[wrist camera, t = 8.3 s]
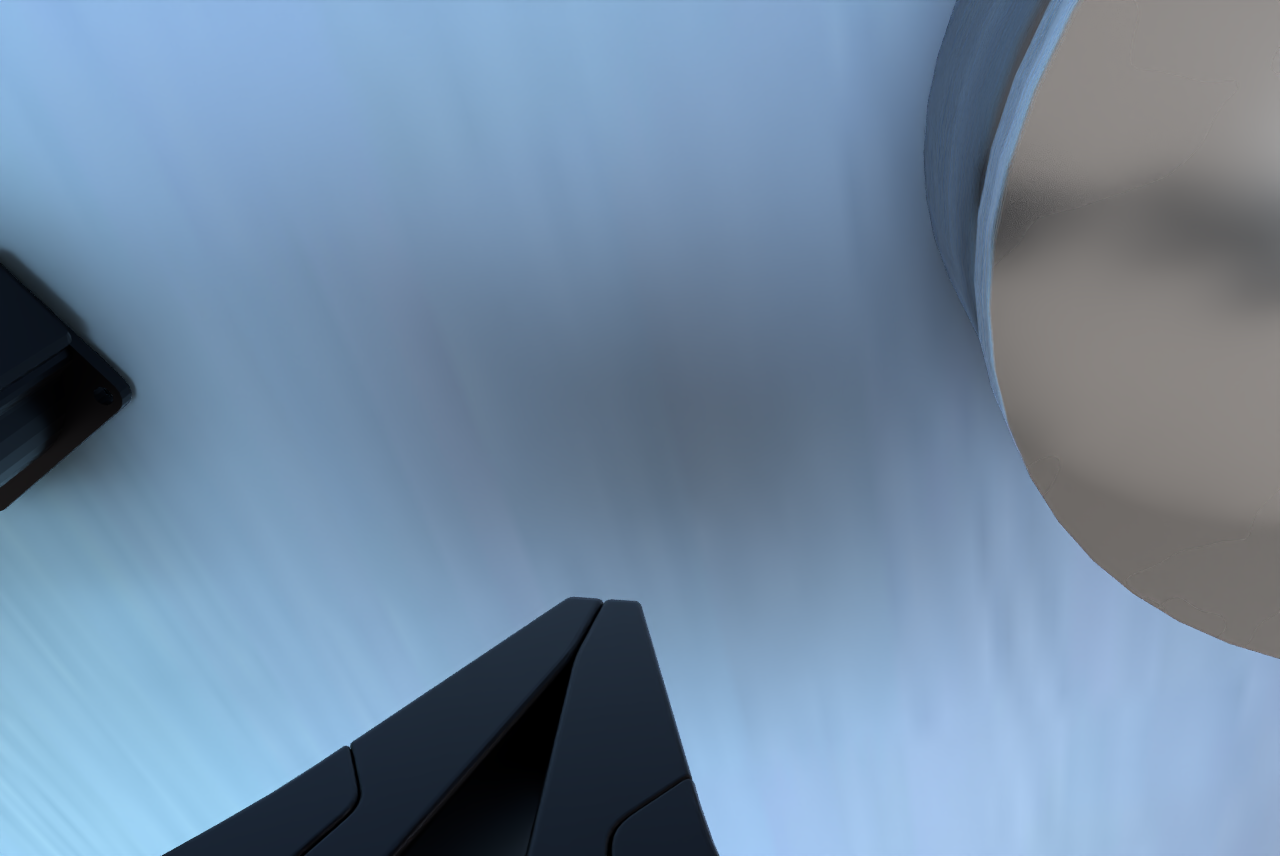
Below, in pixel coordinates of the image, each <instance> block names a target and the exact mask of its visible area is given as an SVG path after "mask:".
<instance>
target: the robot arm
mask: <svg viewBox="0 0 1280 856" xmlns="http://www.w3.org/2000/svg"><path fill="white" fill-rule="evenodd" d="M103 388H105V389H107V390H108V391H109V392H110V393H111V394H112V396H113V397H111V396H109V395H108V394H107V393H106V392H105V391H104V389H103ZM131 395H132V392H131V389H130V386H129V385H128V383H127V382H126V381H125V380H124V379H123V378H122V377H121V376H120V375H119V374H118V373H117V372H116V371H115V370H114V369H113V368H112V367H111V366H110V365H109V364H107V363H106V362H105V361H104V360H103V359H102V358H101V357H100V356H99V355H98V354H97V353H96V352H95V351H94V350H92V349H91V348H90V347H89V346H88V345H87V344H86V343H85V342H84V341H83V340H82V339H81V338H80V337H79V336H78V335H76V334H75V333H74V332H73V331H72V330H71V329H70V328H69V327H68V326H67V325H66V324H65V323H64V322H63V321H62V320H60V319H59V318H58V317H57V316H56V315H55V314H54V313H53V312H52V311H51V310H50V309H49V308H48V307H47V306H45V305H44V304H43V303H42V302H41V301H40V300H39V299H38V298H37V297H36V296H35V295H34V294H33V293H32V292H31V291H29V290H28V289H27V288H26V287H25V286H24V285H23V284H22V283H21V282H20V281H19V280H18V279H17V278H16V277H14V276H13V275H12V274H11V273H10V272H9V271H8V270H7V269H6V268H5V267H4V266H3V265H2V264H1V263H0V511H2V510H4V509H6V508H7V507H8V506H9V505H11V504H12V503H13V502H14V501H15V500H17V499H18V498H19V497H20V496H21V495H22V494H24V493H25V492H26V491H27V490H28V489H29V488H30V487H32V486H33V485H34V484H35V483H36V482H37V481H39V480H40V479H41V478H42V477H43V476H44V475H46V474H47V473H48V472H49V471H50V470H51V469H53V468H54V467H55V466H56V465H57V464H58V463H59V462H61V461H62V460H63V459H64V458H65V457H66V456H68V455H69V454H70V453H71V452H72V451H73V450H75V449H76V448H77V447H78V446H79V445H80V444H82V443H83V442H84V441H85V440H86V439H87V438H88V437H90V436H91V435H92V434H93V433H94V432H95V431H97V430H98V429H99V428H100V427H101V426H102V425H104V424H105V423H106V422H107V421H108V420H109V419H111V418H112V417H113V416H114V415H115V414H116V413H118V412H119V411H120V410H121V409H122V408H123V407H124V406H126V405H127V404H128V403H129V401H130V400H131ZM350 748H351V749H350ZM162 856H719V854H718V851H717V849H716V847H715V845H714V842H713V839H712V836H711V834H710V831H709V828H708V825H707V822H706V819H705V816H704V813H703V811H702V808H701V805H700V801H699V798H698V794H697V791H696V787H695V784H694V782H693V781H692V776H691V773H690V770H689V766H688V763H687V760H686V756H685V753H684V749H683V746H682V743H681V739H680V736H679V732H678V729H677V726H676V722H675V719H674V715H673V712H672V709H671V705H670V702H669V698H668V695H667V692H666V688H665V685H664V681H663V678H662V675H661V671H660V668H659V664H658V661H657V658H656V654H655V651H654V647H653V644H652V641H651V637H650V634H649V630H648V627H647V623H646V620H645V617H644V613H643V610H642V607H641V605H640V603H639V602H637V601H626V600H612V599H611V600H607V601H605V603H603V601H602V600H600V599H597V598H582V597H570V598H567V599H565V600H564V601H562V602H561V603H559V604H558V605H556V606H555V607H553V608H552V609H550V610H549V611H547V612H546V613H544V614H543V615H541V616H540V617H538V618H537V619H535V620H534V621H532V622H531V623H529V624H528V625H526V626H525V627H523V628H522V629H520V630H519V631H517V632H516V633H514V634H513V635H511V636H510V637H508V638H507V639H505V640H504V641H502V642H501V643H499V644H498V645H496V646H495V647H493V648H492V649H490V650H489V651H487V652H486V653H485V654H483V655H482V656H480V657H479V658H477V659H476V660H474V661H473V662H471V663H470V664H468V665H467V666H465V667H464V668H462V669H461V670H459V671H458V672H456V673H455V674H453V675H452V676H450V677H449V678H447V679H446V680H444V681H443V682H441V683H440V684H438V685H437V686H435V687H434V688H432V689H431V690H429V691H428V692H426V693H425V694H423V695H422V696H420V697H419V698H417V699H416V700H414V701H413V702H411V703H410V704H408V705H407V706H405V707H404V708H402V709H401V710H399V711H398V712H396V713H395V714H393V715H392V716H390V717H389V718H387V719H386V720H384V721H383V722H381V723H380V724H378V725H377V726H375V727H374V728H372V729H371V730H369V731H368V732H366V733H365V734H363V735H362V736H360V737H359V738H357V739H356V740H354V741H353V742H352V743H351V745H350V747H349V746H343V747H342V748H340V749H339V750H337V751H336V752H334V753H333V754H331V755H330V756H328V757H327V758H325V759H324V760H322V761H321V762H319V763H318V764H316V765H315V766H313V767H312V768H310V769H308V770H307V771H305V772H304V773H302V774H301V775H299V776H297V777H296V778H294V779H293V780H291V781H290V782H288V783H286V784H285V785H283V786H282V787H280V788H279V789H277V790H275V791H274V792H272V793H271V794H269V795H267V796H266V797H264V798H262V799H260V800H259V801H257V802H255V803H253V804H252V805H250V806H248V807H247V808H245V809H243V810H241V811H240V812H238V813H236V814H235V815H233V816H231V817H229V818H228V819H226V820H224V821H223V822H221V823H219V824H217V825H216V826H214V827H212V828H210V829H208V830H207V831H205V832H203V833H201V834H199V835H198V836H196V837H194V838H192V839H191V840H189V841H187V842H185V843H183V844H182V845H180V846H178V847H176V848H174V849H173V850H171V851H169V852H167V853H165V854H164V855H162Z"/></svg>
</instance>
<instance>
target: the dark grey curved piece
mask: <svg viewBox="0 0 1280 856" xmlns="http://www.w3.org/2000/svg"><path fill="white" fill-rule="evenodd" d="M1050 1H1051V0H957V2H956V4H955V6H954V9H953V12H952V15H951V18H950V21H949V24H948V27H947V30H946V33H945V36H944V39H943V42H942V45H941V48H940V51H939V54H938V57H937V62H936V67H935V72H934V77H933V81H932V86H931V91H930V96H929V101H928V106H927V118H926V131H925V144H924V165H925V183H926V198H927V203H928V208H929V213H930V218H931V223H932V228H933V233H934V238H935V241H936V244H937V246H938V249H939V252H940V255H941V257H942V260H943V263H944V266H945V269H946V271H947V274H948V277H949V279H950V281H951V283H952V285H953V287H954V289H955V291H956V293H957V295H958V297H959V299H960V301H961V303H962V305H963V307H964V309H965V311H966V313H967V315H968V318H969V320H970V322H971V324H972V326H973V328H974V330H975V332H976V334H977V336H978V338H979V332H978V321H977V309H976V297H975V286H974V269H975V252H976V235H977V218H978V212H979V207H980V201H981V196H982V191H983V186H984V181H985V176H986V171H987V166H988V161H989V156H990V151H991V147H992V144H993V141H994V138H995V135H996V132H997V129H998V126H999V123H1000V120H1001V117H1002V114H1003V111H1004V108H1005V105H1006V102H1007V99H1008V96H1009V93H1010V90H1011V87H1012V84H1013V81H1014V78H1015V75H1016V73H1017V71H1018V69H1019V67H1020V64H1021V62H1022V60H1023V58H1024V56H1025V54H1026V52H1027V50H1028V47H1029V45H1030V43H1031V41H1032V39H1033V37H1034V35H1035V32H1036V30H1037V28H1038V26H1039V24H1040V22H1041V20H1042V18H1043V15H1044V13H1045V11H1046V9H1047V7H1048V5H1049V3H1050ZM979 340H980V339H979Z"/></svg>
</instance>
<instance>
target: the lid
mask: <svg viewBox="0 0 1280 856" xmlns="http://www.w3.org/2000/svg"><path fill="white" fill-rule="evenodd" d="M974 286H975V297H976V309H977V321H978V332H979V339H980V343H981V347H982V351H983V356H984V360H985V364H986V368H987V372H988V376H989V380H990V384H991V388H992V391H993V394H994V396H995V398H996V401H997V403H998V405H999V408H1000V410H1001V412H1002V415H1003V417H1004V420H1005V422H1006V424H1007V427H1008V429H1009V431H1010V434H1011V436H1012V438H1013V441H1014V443H1015V445H1016V447H1017V449H1018V451H1019V454H1020V456H1021V458H1022V460H1023V462H1024V464H1025V467H1026V469H1027V471H1028V473H1029V475H1030V477H1031V479H1032V481H1033V482H1034V484H1035V485H1036V487H1037V488H1038V490H1039V492H1040V493H1041V495H1042V496H1043V498H1044V499H1045V501H1046V503H1047V504H1048V506H1049V507H1050V509H1051V511H1052V512H1053V514H1054V515H1055V517H1056V518H1057V520H1058V522H1059V523H1060V524H1061V525H1062V526H1063V527H1064V528H1065V530H1066V531H1067V532H1068V533H1069V534H1070V535H1071V536H1072V537H1073V539H1074V540H1075V541H1076V542H1077V543H1078V544H1079V545H1080V546H1081V548H1082V549H1083V550H1084V551H1085V552H1086V553H1087V554H1088V555H1089V557H1090V558H1091V559H1092V560H1093V561H1094V562H1095V563H1097V564H1098V565H1099V566H1100V567H1101V568H1103V569H1104V570H1105V571H1106V572H1108V573H1109V574H1110V575H1111V576H1112V577H1114V578H1115V579H1116V580H1117V581H1118V582H1120V583H1121V584H1122V585H1123V586H1124V587H1126V588H1127V589H1128V590H1129V591H1131V592H1132V593H1133V594H1135V595H1136V596H1138V597H1139V598H1141V599H1143V600H1144V601H1146V602H1148V603H1149V604H1151V605H1153V606H1154V607H1156V608H1158V609H1159V610H1161V611H1162V612H1164V613H1166V614H1167V615H1169V616H1171V617H1172V618H1174V619H1176V620H1177V621H1179V622H1181V623H1184V624H1186V625H1188V626H1190V627H1193V628H1195V629H1197V630H1200V631H1202V632H1204V633H1206V634H1209V635H1211V636H1213V637H1215V638H1218V639H1220V640H1222V641H1224V642H1227V643H1229V644H1232V645H1236V646H1239V647H1242V648H1246V649H1249V650H1252V651H1255V652H1259V653H1262V654H1265V655H1269V656H1272V657H1275V658H1278V659H1280V0H1051V1H1050V3H1049V5H1048V7H1047V9H1046V11H1045V13H1044V15H1043V18H1042V20H1041V22H1040V24H1039V26H1038V28H1037V30H1036V32H1035V35H1034V37H1033V39H1032V41H1031V43H1030V45H1029V47H1028V50H1027V52H1026V54H1025V56H1024V58H1023V60H1022V62H1021V64H1020V67H1019V69H1018V71H1017V73H1016V75H1015V78H1014V81H1013V84H1012V87H1011V90H1010V93H1009V96H1008V99H1007V102H1006V105H1005V108H1004V111H1003V114H1002V117H1001V120H1000V123H999V126H998V129H997V132H996V135H995V138H994V141H993V144H992V147H991V151H990V156H989V161H988V166H987V171H986V176H985V181H984V186H983V191H982V196H981V201H980V207H979V212H978V218H977V235H976V252H975V269H974Z"/></svg>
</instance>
